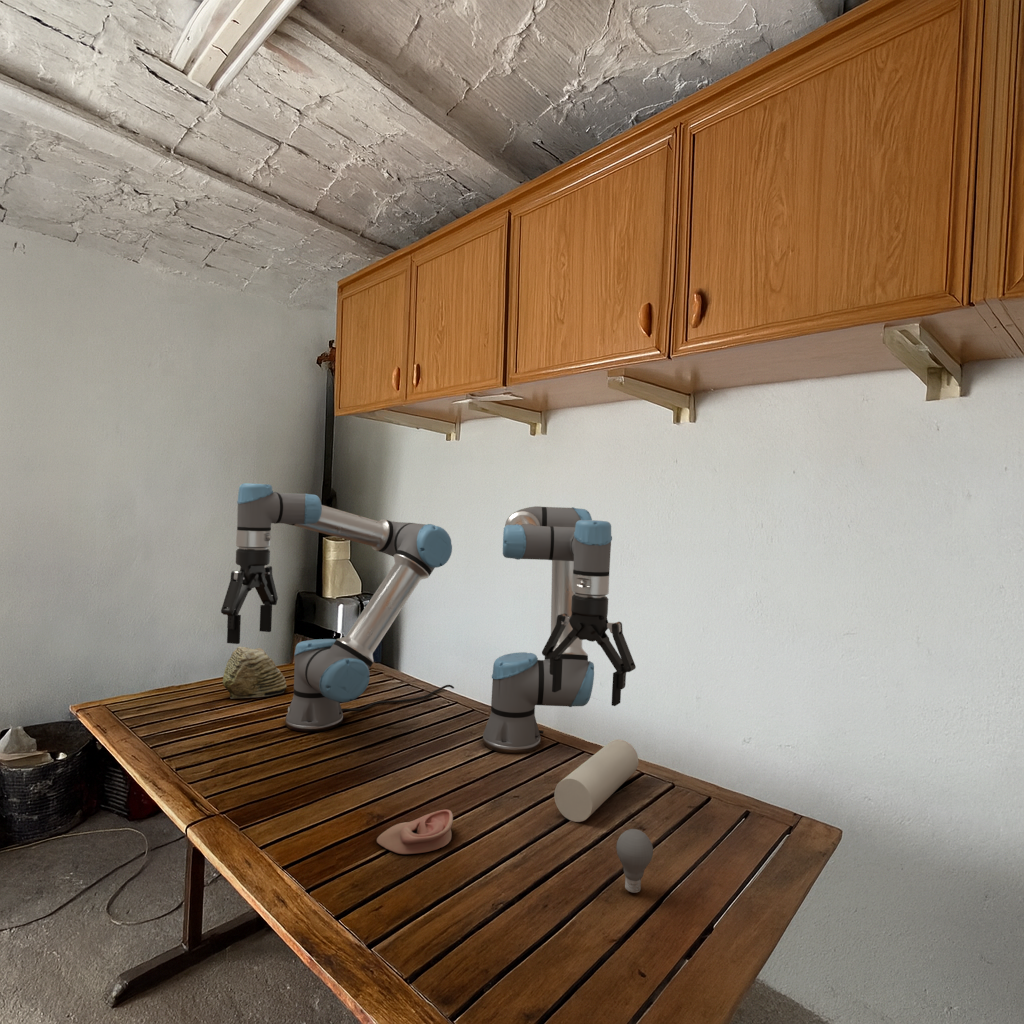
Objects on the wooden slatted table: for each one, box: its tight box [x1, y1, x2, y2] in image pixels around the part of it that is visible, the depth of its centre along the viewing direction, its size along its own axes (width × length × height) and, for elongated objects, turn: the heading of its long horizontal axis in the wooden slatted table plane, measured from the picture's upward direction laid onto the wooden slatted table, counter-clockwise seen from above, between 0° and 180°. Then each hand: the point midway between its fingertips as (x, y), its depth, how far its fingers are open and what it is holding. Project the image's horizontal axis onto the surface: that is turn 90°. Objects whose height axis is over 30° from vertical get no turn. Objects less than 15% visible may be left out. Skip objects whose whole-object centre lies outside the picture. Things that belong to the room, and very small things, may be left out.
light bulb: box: [615, 828, 654, 894], centre depth 106 cm, size 6×6×10 cm
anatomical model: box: [376, 809, 454, 855], centre depth 119 cm, size 13×4×12 cm
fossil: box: [222, 646, 288, 699], centre depth 198 cm, size 9×18×15 cm, turn 132°
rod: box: [553, 738, 639, 823], centre depth 139 cm, size 26×9×9 cm, turn 149°
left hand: (250, 637), depth 151 cm, fingers open, 13 cm apart
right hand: (585, 697), depth 131 cm, fingers open, 13 cm apart
